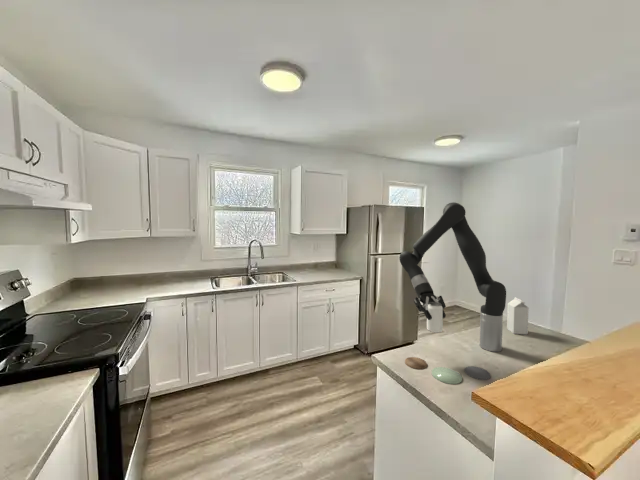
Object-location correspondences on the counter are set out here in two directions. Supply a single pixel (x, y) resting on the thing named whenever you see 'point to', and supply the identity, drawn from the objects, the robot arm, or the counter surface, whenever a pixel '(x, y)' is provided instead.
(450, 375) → the sage coaster
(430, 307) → the can
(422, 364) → the walnut coaster
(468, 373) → the charcoal coaster
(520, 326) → the milk carton
